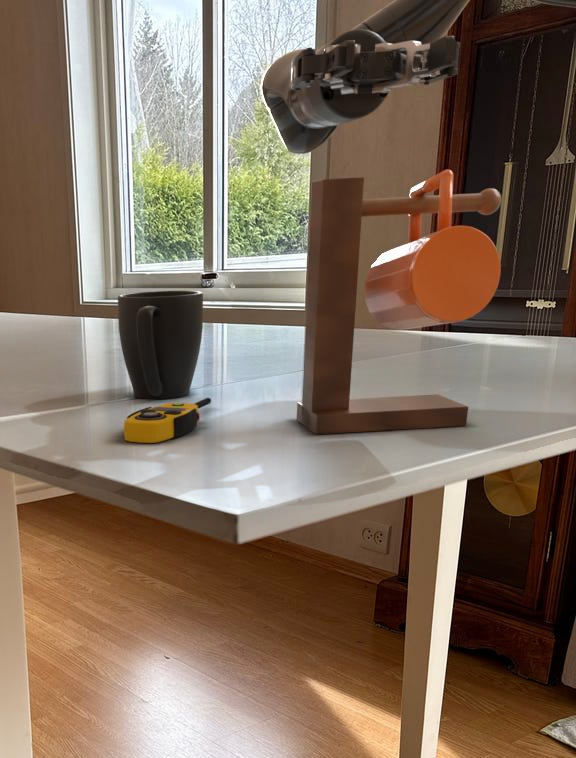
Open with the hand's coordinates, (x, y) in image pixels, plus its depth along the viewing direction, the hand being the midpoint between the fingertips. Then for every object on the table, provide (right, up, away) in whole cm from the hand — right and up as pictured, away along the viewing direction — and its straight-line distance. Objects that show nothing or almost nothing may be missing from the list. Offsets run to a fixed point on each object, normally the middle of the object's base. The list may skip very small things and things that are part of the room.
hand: (400, 52), depth 78 cm
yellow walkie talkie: (-19, -32, 0) cm, 37 cm away
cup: (-1, -23, -15) cm, 27 cm away
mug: (-20, -26, +13) cm, 35 cm away
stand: (-3, -32, -3) cm, 32 cm away
